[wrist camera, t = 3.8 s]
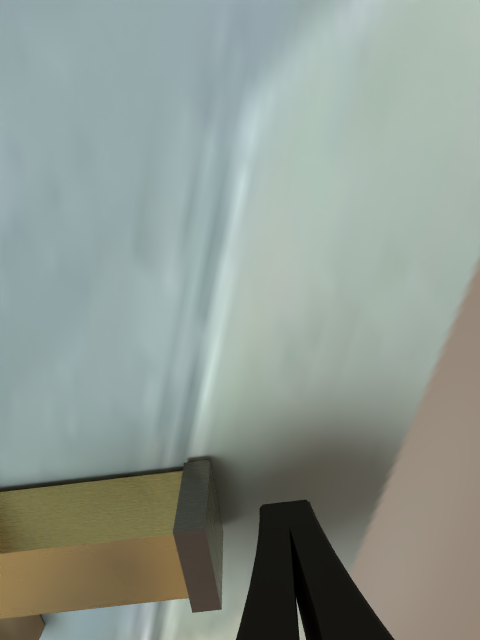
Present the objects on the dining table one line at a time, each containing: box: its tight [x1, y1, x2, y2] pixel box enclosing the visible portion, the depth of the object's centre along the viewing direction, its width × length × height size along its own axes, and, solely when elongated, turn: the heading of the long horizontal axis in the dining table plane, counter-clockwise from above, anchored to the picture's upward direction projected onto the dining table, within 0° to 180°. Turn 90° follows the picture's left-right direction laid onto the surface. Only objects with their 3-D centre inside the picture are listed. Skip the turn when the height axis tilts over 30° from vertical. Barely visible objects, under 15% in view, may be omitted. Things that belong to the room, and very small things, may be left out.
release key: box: [0, 460, 223, 619], centre depth 11 cm, size 3×7×2 cm, turn 97°
